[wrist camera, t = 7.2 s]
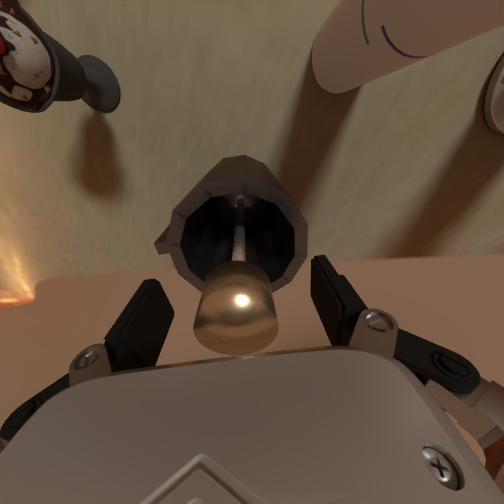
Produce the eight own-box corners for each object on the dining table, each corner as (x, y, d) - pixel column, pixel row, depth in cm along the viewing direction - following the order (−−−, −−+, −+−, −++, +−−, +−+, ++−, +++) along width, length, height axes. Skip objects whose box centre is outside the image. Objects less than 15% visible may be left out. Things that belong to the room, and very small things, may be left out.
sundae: (139, 84, 22) (-2, 15, 9) (112, 133, 25) (-31, 130, 12) (78, 24, 20) (-229, -183, 7) (54, 84, 22) (-209, 14, 9)
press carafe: (274, 150, 26) (308, 166, 13) (279, 224, 32) (307, 291, 18) (178, 165, 27) (110, 197, 13) (200, 236, 32) (169, 310, 19)
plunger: (264, 167, 25) (319, 251, 7) (269, 221, 29) (314, 364, 11) (207, 176, 26) (120, 279, 7) (220, 228, 30) (184, 380, 11)
